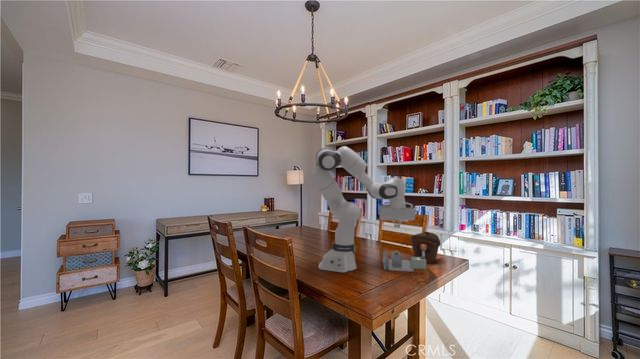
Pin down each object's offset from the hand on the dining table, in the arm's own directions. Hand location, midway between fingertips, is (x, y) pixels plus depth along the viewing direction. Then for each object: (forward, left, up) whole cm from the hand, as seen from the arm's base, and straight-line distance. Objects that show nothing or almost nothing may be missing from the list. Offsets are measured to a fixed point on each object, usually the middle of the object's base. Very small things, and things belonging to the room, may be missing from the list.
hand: (397, 227), depth 161 cm
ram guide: (+12, 0, -23) cm, 26 cm away
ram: (+13, 0, -20) cm, 24 cm away
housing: (0, 0, -22) cm, 22 cm away
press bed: (0, 0, -23) cm, 23 cm away
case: (+19, +15, -23) cm, 34 cm away
